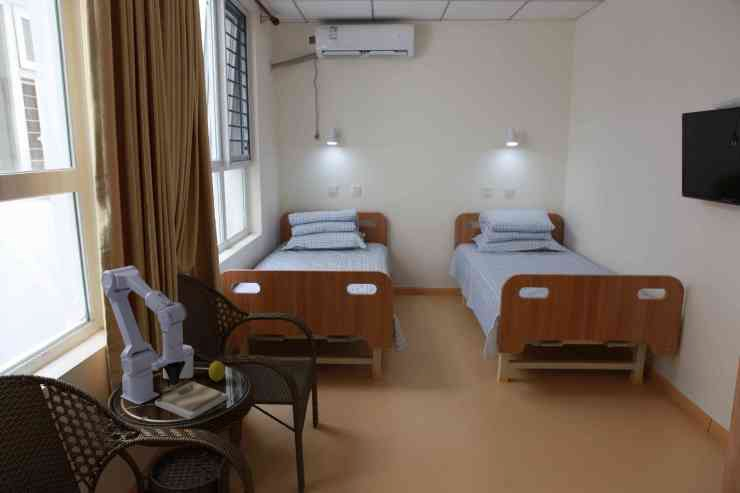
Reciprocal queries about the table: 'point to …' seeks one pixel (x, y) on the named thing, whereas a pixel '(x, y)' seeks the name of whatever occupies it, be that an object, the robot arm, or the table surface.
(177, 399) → the board
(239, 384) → the table surface
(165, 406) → the light grey square plate
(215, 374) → the lemon
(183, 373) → the photo printer
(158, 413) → the table surface
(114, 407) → the table surface
